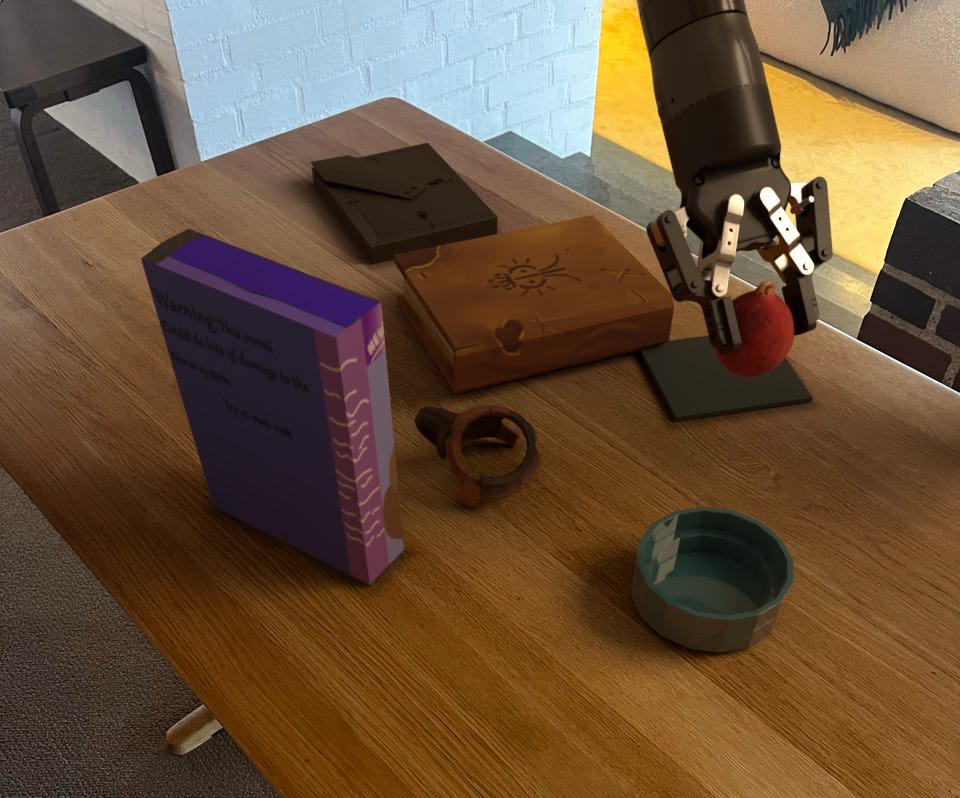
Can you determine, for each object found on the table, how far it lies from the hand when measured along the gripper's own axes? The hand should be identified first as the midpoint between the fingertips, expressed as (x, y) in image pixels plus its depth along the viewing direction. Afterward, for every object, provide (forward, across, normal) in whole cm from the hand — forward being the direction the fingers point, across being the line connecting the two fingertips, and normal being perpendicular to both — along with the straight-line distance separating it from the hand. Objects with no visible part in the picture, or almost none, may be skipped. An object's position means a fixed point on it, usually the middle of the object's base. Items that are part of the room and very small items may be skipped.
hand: (768, 341), depth 73 cm
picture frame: (-31, -8, +57) cm, 65 cm away
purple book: (+4, -34, +22) cm, 41 cm away
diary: (-10, -4, +36) cm, 38 cm away
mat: (0, +11, +26) cm, 28 cm away
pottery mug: (+3, -18, +23) cm, 29 cm away
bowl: (+18, -6, +7) cm, 20 cm away
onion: (+2, 0, +4) cm, 5 cm away
